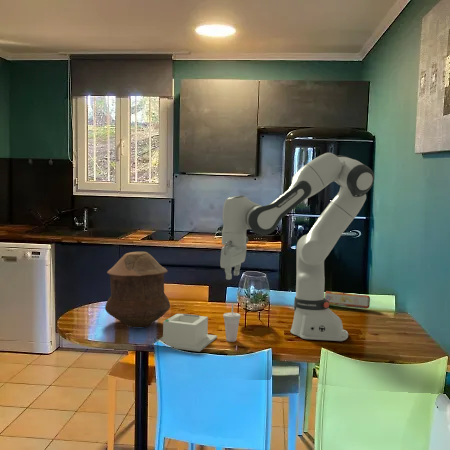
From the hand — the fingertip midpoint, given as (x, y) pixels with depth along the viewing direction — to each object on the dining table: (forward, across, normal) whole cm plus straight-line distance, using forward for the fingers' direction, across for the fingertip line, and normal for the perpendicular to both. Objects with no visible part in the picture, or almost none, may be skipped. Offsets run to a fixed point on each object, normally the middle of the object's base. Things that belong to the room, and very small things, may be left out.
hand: (232, 277), depth 192 cm
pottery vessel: (+24, +3, +40) cm, 47 cm away
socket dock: (+24, -8, +15) cm, 29 cm away
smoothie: (+24, 0, 0) cm, 24 cm away
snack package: (+15, +67, -43) cm, 81 cm away
